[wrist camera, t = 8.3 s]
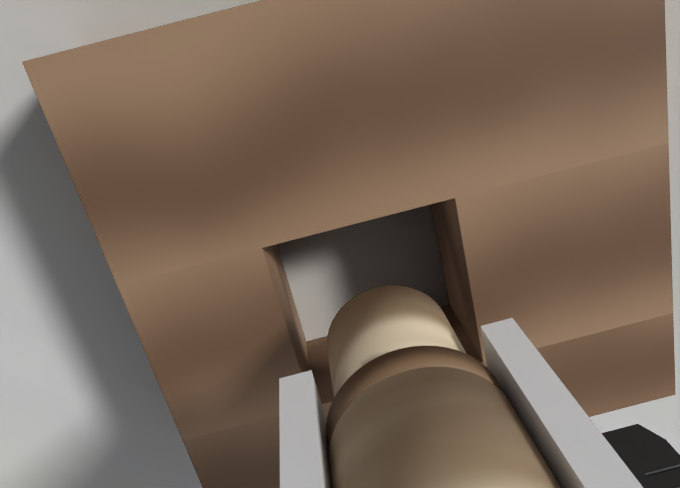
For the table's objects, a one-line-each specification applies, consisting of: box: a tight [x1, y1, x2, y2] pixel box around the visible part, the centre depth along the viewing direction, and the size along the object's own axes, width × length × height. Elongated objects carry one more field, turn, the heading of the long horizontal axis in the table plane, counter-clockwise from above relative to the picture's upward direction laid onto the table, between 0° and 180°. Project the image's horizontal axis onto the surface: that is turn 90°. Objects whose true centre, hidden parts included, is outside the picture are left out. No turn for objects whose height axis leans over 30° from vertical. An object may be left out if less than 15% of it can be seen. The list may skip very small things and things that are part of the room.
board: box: [22, 0, 675, 488], centre depth 19 cm, size 15×16×4 cm
